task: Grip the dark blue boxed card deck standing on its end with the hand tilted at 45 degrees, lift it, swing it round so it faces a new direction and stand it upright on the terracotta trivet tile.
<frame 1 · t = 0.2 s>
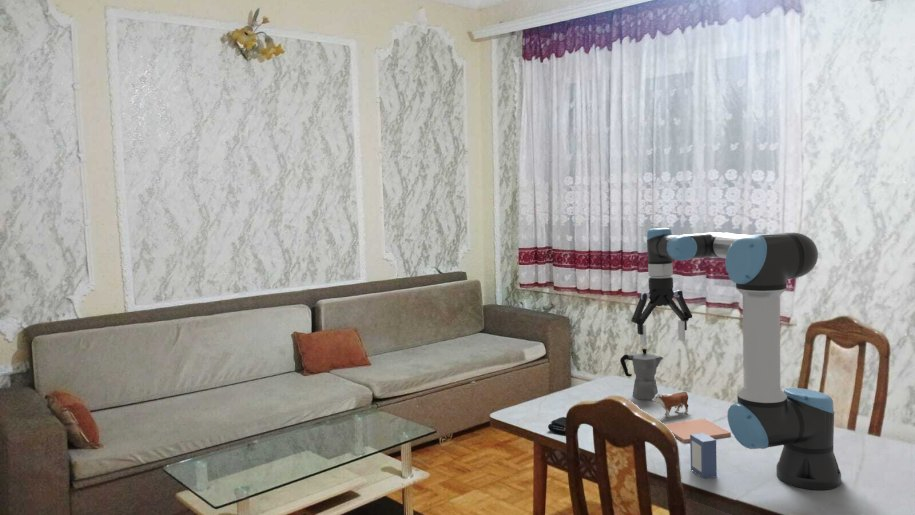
hand: (662, 342, 223), 27 cm above the table, tool pointing down, fingers open, 13 cm apart
trivet: (694, 431, 219), on the table
coffeepot: (642, 396, 258), on the table
deck: (703, 472, 189), on the table
bull figurine: (671, 415, 236), on the table
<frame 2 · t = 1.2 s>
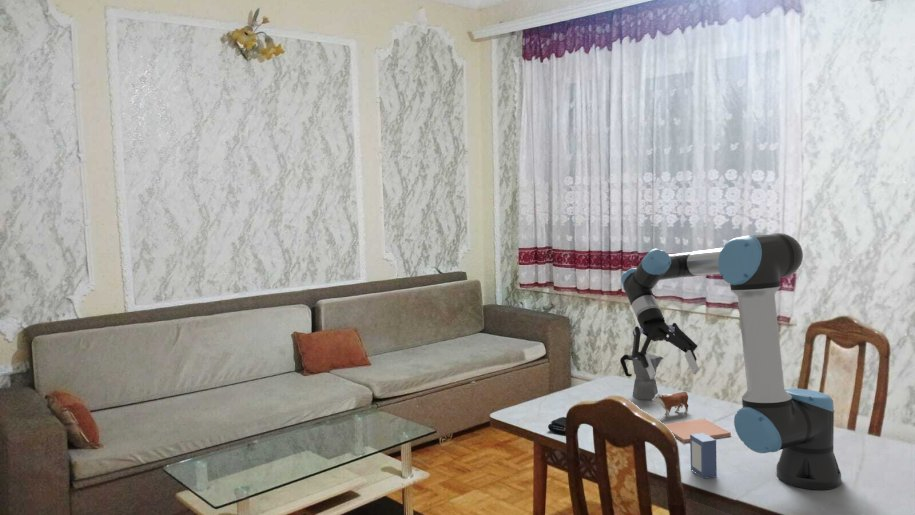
hand: (675, 374, 200), 24 cm above the table, tool tilted 45°, fingers open, 13 cm apart
nothing on the table moved.
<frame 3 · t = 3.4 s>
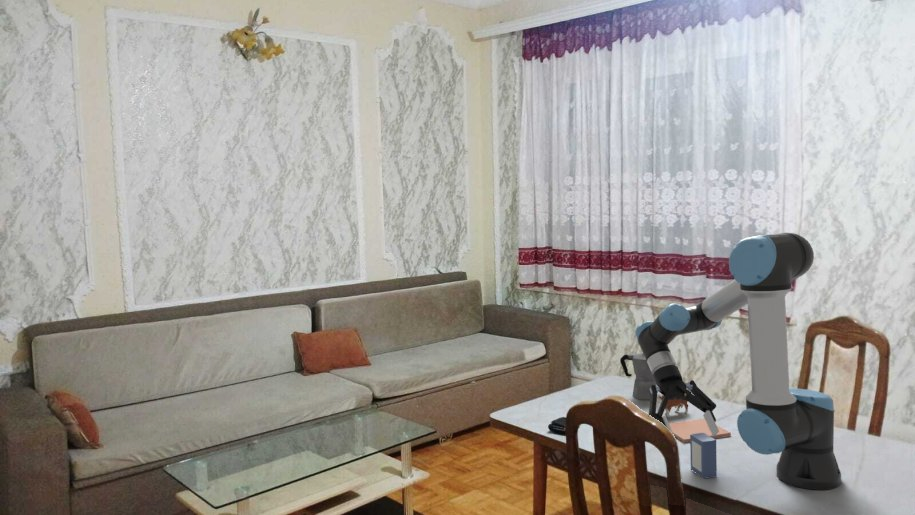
hand: (694, 437, 191), 9 cm above the table, tool tilted 45°, fingers open, 13 cm apart
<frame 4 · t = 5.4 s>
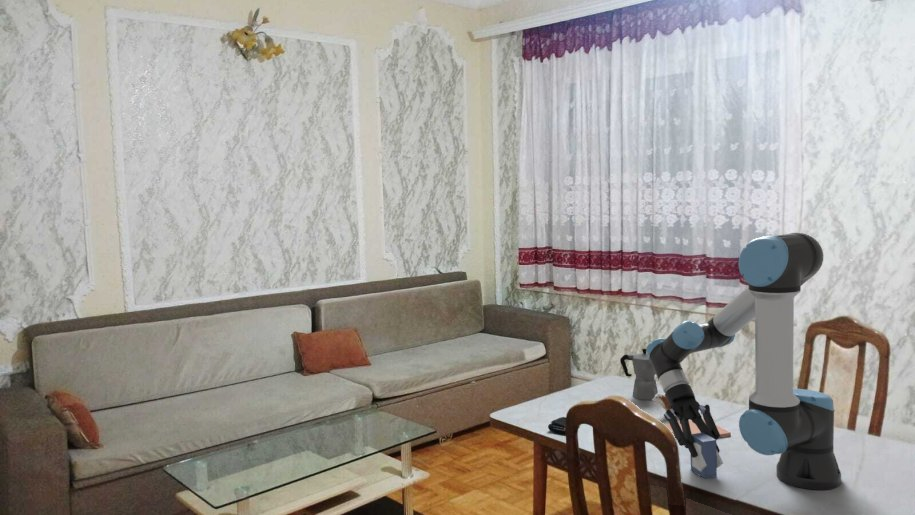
hand: (711, 466, 185), 3 cm above the table, tool tilted 45°, fingers closed on deck, 4 cm apart
deck: (703, 472, 189), on the table, touching gripper
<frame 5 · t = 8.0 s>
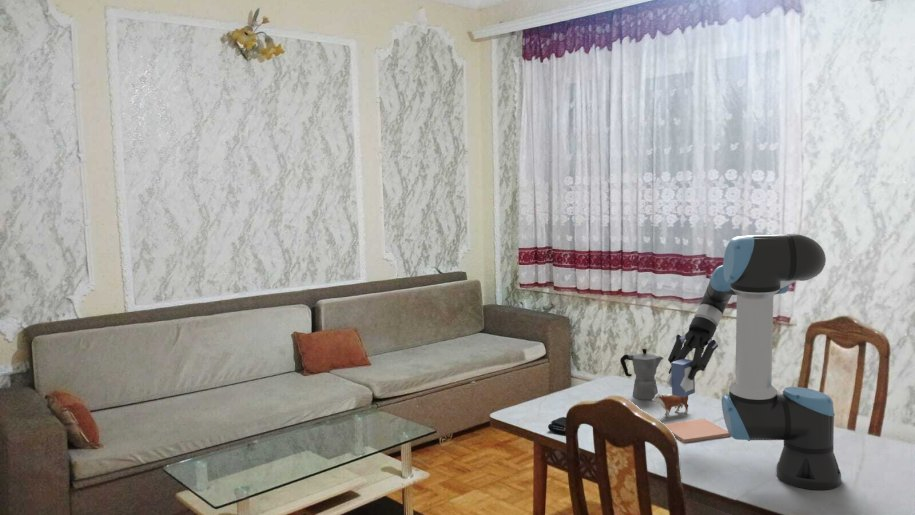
hand: (676, 386, 209), 18 cm above the table, tool tilted 45°, fingers closed on deck, 4 cm apart
deck: (683, 393, 212), point 14 cm above the table, touching gripper
when the fingers open (6 cm above the table, at t = 10.7 s): deck drops 1 cm, resting on trivet.
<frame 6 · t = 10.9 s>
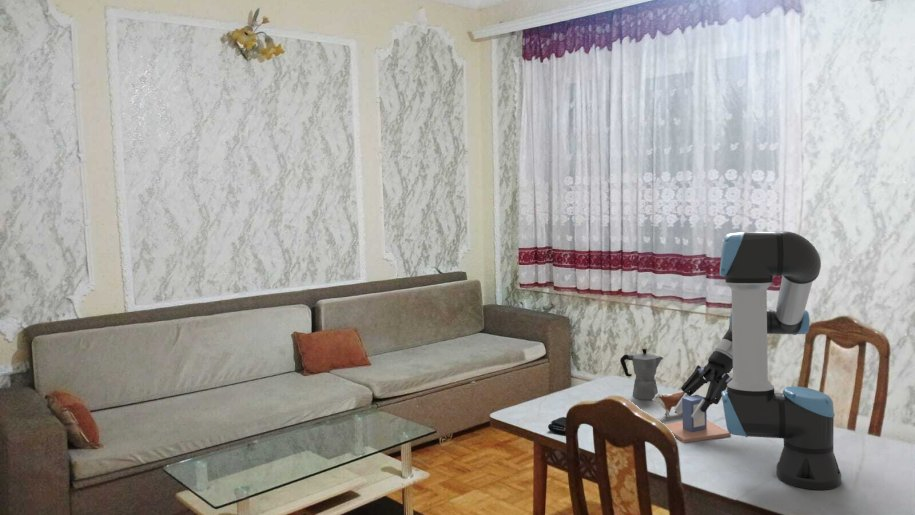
hand: (685, 415, 217), 6 cm above the table, tool tilted 45°, fingers open, 7 cm apart
deck: (694, 428, 219), point 1 cm above the table, touching trivet
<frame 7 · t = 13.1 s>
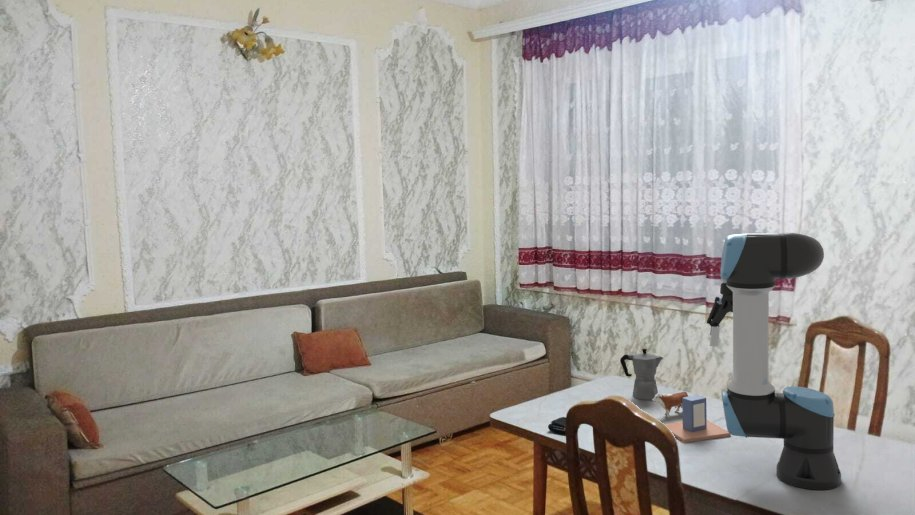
hand: (727, 349, 224), 24 cm above the table, tool pointing down, fingers open, 13 cm apart
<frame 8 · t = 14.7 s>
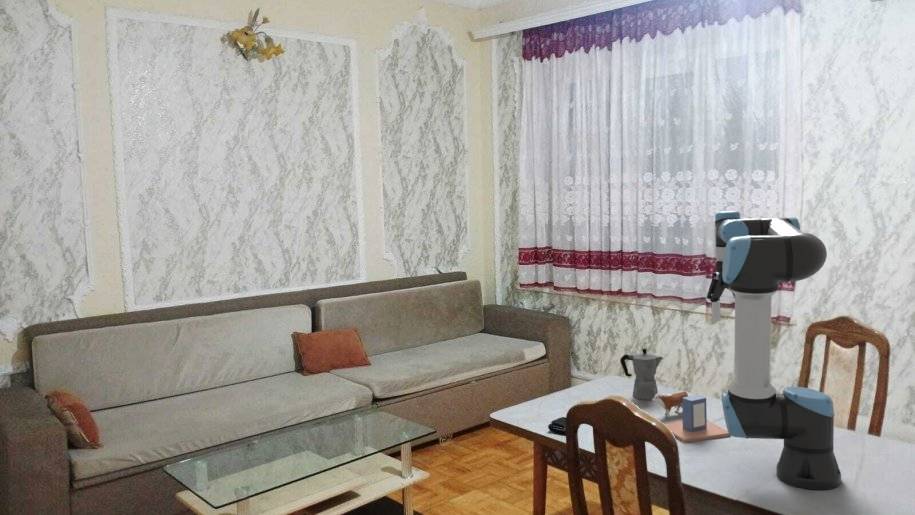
hand: (728, 325, 224), 32 cm above the table, tool pointing down, fingers open, 13 cm apart
at the end: deck inside the target area on the trivet (0.0 cm from its centre), point 1.0 cm above the trivet's base; deck tilted 0°; the gripper is holding nothing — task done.
